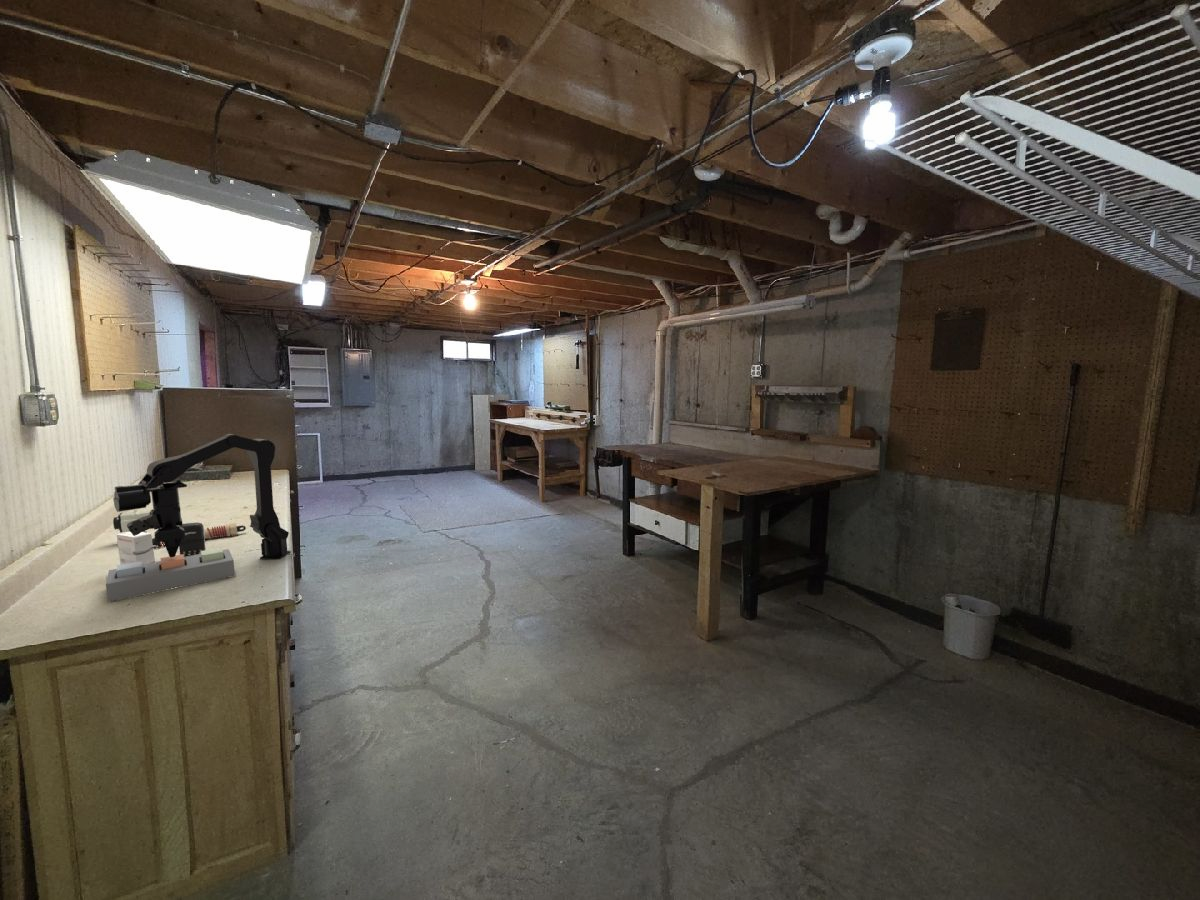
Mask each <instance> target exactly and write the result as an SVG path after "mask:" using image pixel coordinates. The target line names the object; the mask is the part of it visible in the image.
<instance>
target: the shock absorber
mask: <svg viewBox="0 0 1200 900" xmlns="http://www.w3.org/2000/svg"><path fill="white" fill-rule="evenodd" d="M246 529H247V528H246V526H245V525H237V523H236V522H234V523H228V524H225V525H221V526H220V525H219V526H212V527H211V528H209V527H207V528H206V529H204V532H205V539H206V538H207V539H211V538H212V537H213V539H216V538H217V537H218V538H219V537H220V538H223V536H225V537H226V536H230V535H236V536H237V535H238V533H240V532H244V531H245V530H246ZM215 537H216V538H215ZM230 537H231V536H230ZM207 539H206V540H207ZM152 543H153V547H155V546H156V547H157V548H160V547H161V546H162V544H163V546H162V547H165V546H164V542H155V537H154V538H153V537H152ZM159 546H160V547H159Z"/></svg>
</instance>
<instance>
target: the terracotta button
mask: <svg viewBox="0 0 1200 900" xmlns="http://www.w3.org/2000/svg"><path fill="white" fill-rule="evenodd" d="M160 561H161V567H162V570H164V569H170V568H175V567H180V566H185V562H184V555H183V554H181V555H180V554H177V555H175V557H170V556H166V557H160Z"/></svg>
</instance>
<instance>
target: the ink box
mask: <svg viewBox="0 0 1200 900" xmlns="http://www.w3.org/2000/svg"><path fill="white" fill-rule="evenodd" d="M116 539H117V540H116V541H117V545H118V546H117V548H118V555H119V565H124V564H129V563H135V562H141V561H142V564H147V563H152V562H156V559H155V552H154V551H155V550H154V546H153V543H152V539H153V536H152V533H150V532H147V533H145V532H141V533H140V534H138V535H135V536H133V535H132V533H131V532H122V533H118V534H116Z"/></svg>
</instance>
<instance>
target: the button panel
mask: <svg viewBox="0 0 1200 900" xmlns="http://www.w3.org/2000/svg"><path fill="white" fill-rule="evenodd" d="M222 550H223V556H224V558H223V559H218V560H213V561H207V562H202V560H201V554H198V555H192V556H186V557H184V562H185V566H180V567H175V568H170V569H164V570H162V567H161V560H159V561H155V562H152V563H147V564H142V566H143V574H137V575H132V576H127V577H121V578H117V572H116V570H117V568H115V569H114V568H113V569H109V570H108V573H107V575H106V576H107V577H106V580H105V589H106V596H107V602H108V603H110V602H109V601H112V602H115V601H114V600H116V601H120V600H119V599H121V600H125V599H124V598H126V599H130V598H129V597H131V598H135V597H134V596H136V597H139V596H138V595H140V596H144V595H143V594H145V595H149V594H148V593H150V594H153V593H152V592H155V593H158V592H157V591H160V592H163V591H162V590H164V591H167V590H166V589H169V590H172V589H171V588H174V589H176V588H175V587H179V588H181V587H180V586H184V587H186V586H185V585H189V586H192V585H191V584H193V585H196V584H195V583H198V584H201V582H203V583H206V582H205V581H208V582H211V581H210V580H213V581H216V580H215V579H217V580H221V579H220V578H222V579H225V578H224V577H227V578H230V577H229V576H232V577H235V576H236V573H235V572H236V570H235V562H234V561H235V560H234V558H233V556H232V553H231V552H230V550H229V548H227V549H222ZM234 575H235V576H234Z"/></svg>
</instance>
